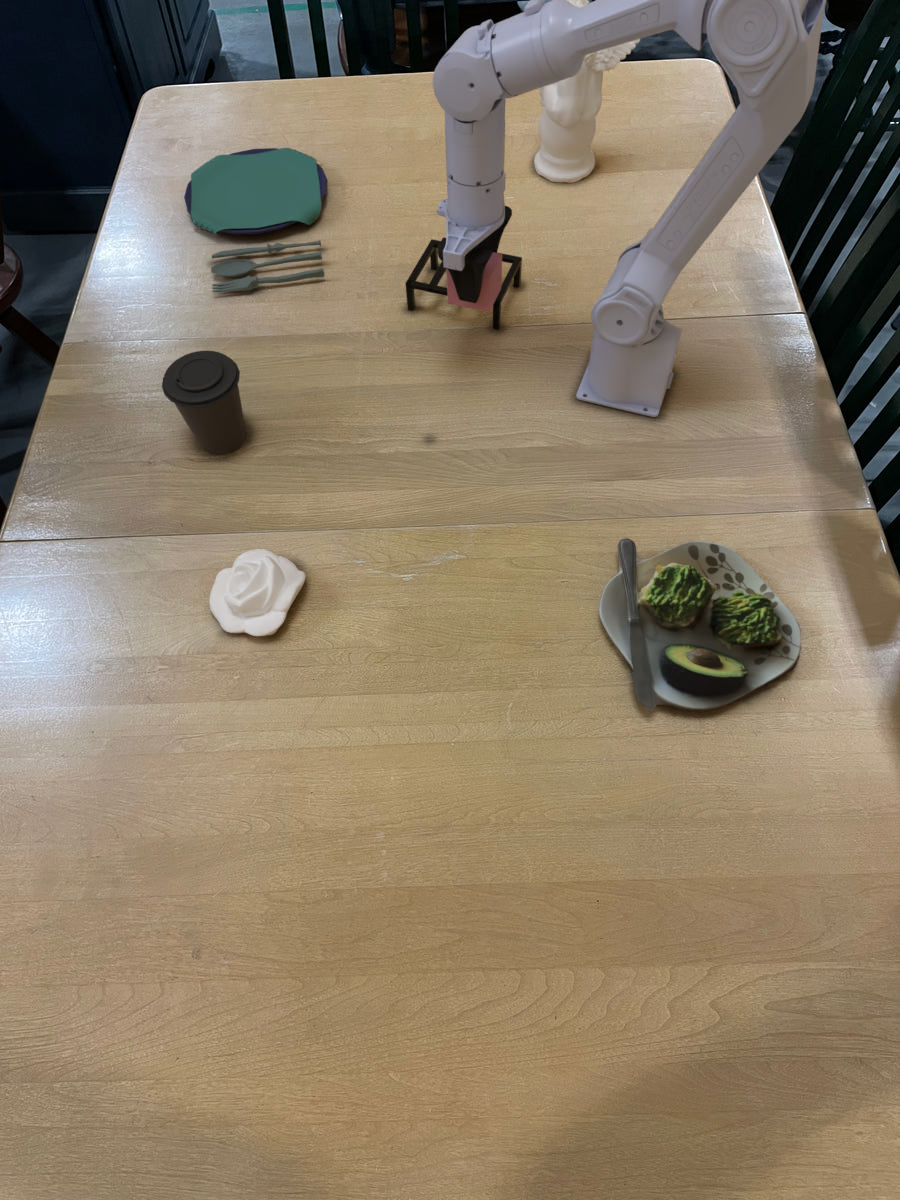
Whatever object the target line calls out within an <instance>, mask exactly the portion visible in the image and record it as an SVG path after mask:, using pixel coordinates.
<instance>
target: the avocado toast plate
mask: <svg viewBox="0 0 900 1200" xmlns="http://www.w3.org/2000/svg"><path fill="white" fill-rule="evenodd" d="M617 555H618V562H619V566H618V570H617V573H616V574H615V575H614V576H613V577H612V578H611V579H610V580H609V581H608V582H607V583H606V585H605V586H604V589H603V591H602V593H601V597H600V602H599V606H598V613H599V618H600V622H601V624H602V625H603V628H604V629H605V631H606V633H607V635H608V637H609V638H610V640H611V641H612V643H613V644H614V645H615V647H616V648H617V649H618V651H619V652H620V653H621V655H622V656H623V657H624V658H625V660H626V662H627V663H628V664H629V665H630V667H631V670H632V673H631V677H632V682H633V687H634V690H635V693H636V696H637V700H638V702H639V703H640V704H641V705H642V706H644V707H645V708H646V709H647V710H648V711H650V712H652V710H654V709H655V708H656V706H657V705H661V706H667V707H670V708H675V709H677V710H683V711H688V712H697V713H701V712H709V711H713V710H717V709H720V708H724V707H726V706H729V705H731V704H734V703H737V702H740V701H741V700H742V699H744V698H745V697H747V696H749V695H751V694H753V693H756V692H758V691H759V690H761V689H763V688H765V687H768V686H771V685H772V684H774V683H776V682H779V680H781V679H782V678H783V677H785V676H787V675H788V674H789V673H791V672H792V671H793V670H794V669H795V668H796V666H797V664H798V662H799V659H800V654H801V652H802V631H801V628H800V627H801V626H800V624H799V622H798V620H797V618H796V617H795V615H794V614H793V613H792V611H791V610H790V608H789V607H788V606H787V605H786V604H785V603H784V602H783V601H782V600H781V598H779V597H778V595H777V594H776V592H774V591H773V590H772V589H771V588H770V587H769V585H768V584H767V583H766V582H765V581H764V580H763V579H762V578H761V576H760V575H759V574H758V573H757V571H756V570H755V569H754V568H753V567H752V566H751V565H750V564H749V563H748V562H747V561H746V560H745V559H744V558H743V557H742V556H741V555H740V554H739V553H738V552H737V551H735V550H734V549H732V548H731V547H728V546H726V545H724V544H721V543H716V542H712V541H711V542H710V541H705V540H691V541H686V542H682V543H680V544H677V545H675V546H672V547H671V548H669V549H666V550H664V551H662V552H660V553H658V554H656V555H654V556H651V557H647V558H642V557H640V556H639V553H638V551H637V545H636V543H635V541H634V540H633V539H630V538H627V537H626V538H622V539H620V540H619V542H618V544H617Z"/></svg>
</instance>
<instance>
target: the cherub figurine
mask: <svg viewBox="0 0 900 1200" xmlns="http://www.w3.org/2000/svg"><path fill="white" fill-rule="evenodd" d="M567 1H568V2H570V3H571V4H573V5H575V6H576V7H578V8H580V7H583V6H585V5H587V4H589V3H590V0H567ZM640 42H641V39H638V40H634V41H631V42H627V43H624V44H621V45H617V46H614V47H610V48H607V49H604V50H600V51H597V52H594V53H590V54H587V55H585V58H584V61H583V63H582V66H581V68H580V70H579V71H578V73H577V74H576V75H575V76H573V77H570V78H567V79H564V80H562V81H559V82H556V83H553V84H550V85H547V86H544V87H541V88H539V96H540V98H541V99H540V106H541V107H543V109H542V111H541V113H540V115H539V121H538V136H539V140H540V146H539V149H538V150H537V152H536V153H535V156H534V159H533V166H534V169H535V171H536V174H537V175H539V176H542V177H543V178H545V179H547V180H548V181H549V182H553V183H554V182H555V183H569V184H570V183H571V184H573V183H577V182H579V181H581V180H583V179H584V178H586V177H588V176H589V175H591V173H592V172H593V170H594V169H595V165H596V157H595V155H594V153H593V151H592V145H591V144H592V142H593V140H594V138H595V135H596V129H597V120H596V117H597V116H598V114H599V112H600V110H601V107H602V103H603V94H602V93H603V92H602V88H603V81H604V79H603V78H604V72H605V71H606V72H609V71H610V70H615V69H616V67H617V65H619V64H620V63H621V61H623V60H625V59H626V58H627V55H630V54H631V52H632V51H633V50H634V49H635V48H637V44H639V43H640Z"/></svg>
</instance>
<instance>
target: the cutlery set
mask: <svg viewBox="0 0 900 1200" xmlns="http://www.w3.org/2000/svg"><path fill="white" fill-rule="evenodd" d="M327 187H328V178H327V176H326V174H325V172H324V169H323V167H322V166H321V165H319V164H318V163H317V158H315V157H313V156H312V155H308V154H307V153H303V152H302V151H299V150H297V149H295V148H294V149H293V148H291V147H281V148H276V147H268V148H267V147H266V148H251V149H246V150H241V151H236V152H232V153H230V154H219V155H216V156H214V157H213V158H211V159H210V160H208V161H206V162H205V163H204V164H202V165H201V166H199V167H198V168H196V169H195V170H194V171H193V172H191V173H190V180H189V182H188V183H187V185H186V189H185V192H184V196H183V198H184V202H185V207H186V210H187V212H188V213H189V214H190V217H191V220H192V222H193V224H194V225H196V226H197V227H198V228H202V229H203V230H206V231H208V232H209V233H211V234H213V235H216V234H217V232H220V233H227V234H232V235H259V234H264V233H269V232H272V231H273V232H274V231H279V230H282V229H284V228H287V227H289V226H291V225H294V224H296V223H298V222H301V223H303V224H305V225H308V226H311V225H312V224H313V223H314V222H315V221H316V220H317V219H318V218H319V216H320V214H321V211H322V201H323V200H324V198H325V197H326V193H327ZM266 245H267V246H258V247H257V246H256V247H245V248H235V249H228V250H227V249H226V250H221V251H218V252H215V253H213V254H212V255H211V258H212V259H213V260H214V259H219V258H221V259H222V258H228V257H229V258H230V257H235V256H236V257H237V256H244V255H252V254H260V253H267V254H268V255H269V256H271V253H273V252H276V253H279V252H281V251H284V250H286V249H292V248H299V247H308V246H309V247H310V246H319V247H322V242H321V239H319V240H315V241H309V242H301V243H299V242H298V243H297V242H296V243H295V242H294V243H286V244H285V243H279V242H275V243H274V244H273V245H271V244H270V243H267V244H266ZM322 260H323V254H322V251H316V252H310V253H304V254H297V255H291V256H286V257H282V258H278V259H274V260H269V261H264V262H261V263H256V262H255V261H252V260H249V259H247V258H232V259H228V260H224V261H220V262H218V263H216V264H214V265H213V266H210V273H212V274H214V275H217V276H221V277H223V278H237V279H233V280H229V281H225V282H221V283H212V284H211V285H212V287H211V288H212V290H211V291H212V293H216V294H217V293H219V294H221V293H228V292H245V291H251V290H254V289H256V288H258V287H259V285H261V284H282V283H290V282H297V281H302V280H307V279H314V278H315V279H316V278H325V276H326V275H325V270H324V268H322V267H321V268H317V269H310V270H304V271H300V272H296V273H291V274H286V275H285V274H284V275H280V276H265V277H264V276H263V277H258V276H257V275H254V276H253V277H252V276H250V275H249V274H248V273H250V272H251V271H253V270H256V269H259V268H264V267H265V268H266V267H270V266H278V265H283V264H287V263H288V264H289V263H297V262H298V263H299V262H306V261H322ZM247 274H248V275H247ZM244 275H247V276H245V277H242V276H244ZM238 277H242V278H238Z"/></svg>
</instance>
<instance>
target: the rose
mask: <svg viewBox="0 0 900 1200" xmlns="http://www.w3.org/2000/svg"><path fill="white" fill-rule="evenodd" d="M306 578H307V576H306V573H305V572H304V571H303V570H302V571H301V570H299V568H298V567H297V566H296V564H295V563H293V562H292V561H291V560H290V559H288V558H286V557H285V556H283V555H276V554H275V553H274V552H272V551H270V550H268V549H266V548H254V549H250V550H247V551H244V552H242V553H240V554H239V555H238V556H237V557H236V559H235V560H234V562H233V564H232V567H226V568H222V569H221V570H220V571H219V572H218V573H217V575H216V577H215V578H214V579H215V580H214V583H213V586H212V588H211V590H210V593H209V598H208V599H209V601H208V602H209V608H210V612H211V614H212V615H213V617H214V618H215V620H217V622H218V623H219V625H220V627H221V629H222V630H223V631H225V632H227V633H230V634H243V633H244V634H248V635H250V636H254V637H265V636H272V635H274V634H276V633H277V631H278V629H279V628H280V627H281V626H282V625H283V624H284V622H285V621H286V618H287V615H288V612H289V610H290V607H291V606H292V605H293V602H294V601H295V600H296V597H297V596H298V594H299V593H300V591H301V590H302V587H303V586H304V583H305V582H306Z"/></svg>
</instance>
